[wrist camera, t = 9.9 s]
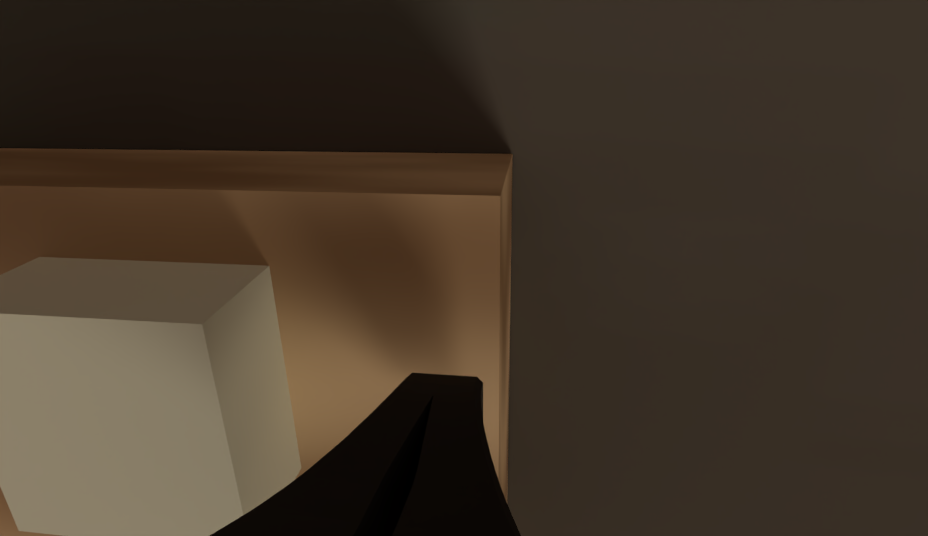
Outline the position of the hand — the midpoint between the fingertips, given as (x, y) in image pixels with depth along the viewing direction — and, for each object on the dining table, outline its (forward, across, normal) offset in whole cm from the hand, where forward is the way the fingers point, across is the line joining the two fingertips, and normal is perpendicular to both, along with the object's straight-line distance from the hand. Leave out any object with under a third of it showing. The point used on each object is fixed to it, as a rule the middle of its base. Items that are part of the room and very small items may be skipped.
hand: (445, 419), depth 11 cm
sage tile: (+1, +6, 0) cm, 6 cm away
